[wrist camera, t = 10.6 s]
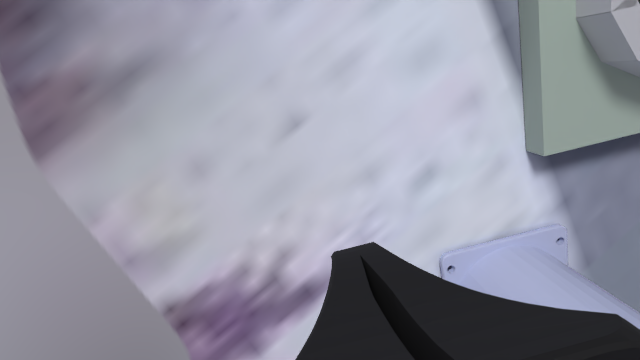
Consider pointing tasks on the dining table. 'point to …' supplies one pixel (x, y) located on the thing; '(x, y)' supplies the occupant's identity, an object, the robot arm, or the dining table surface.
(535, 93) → the mount board
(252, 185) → the dining table surface
